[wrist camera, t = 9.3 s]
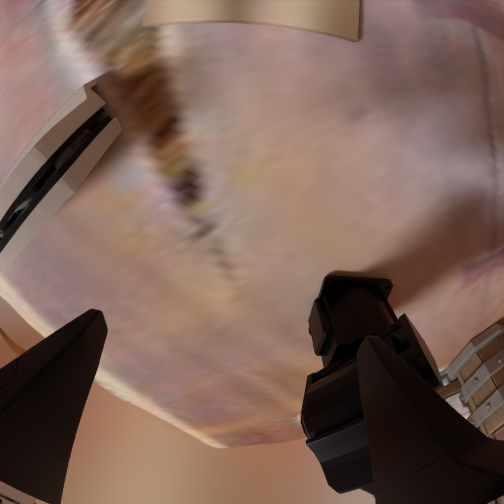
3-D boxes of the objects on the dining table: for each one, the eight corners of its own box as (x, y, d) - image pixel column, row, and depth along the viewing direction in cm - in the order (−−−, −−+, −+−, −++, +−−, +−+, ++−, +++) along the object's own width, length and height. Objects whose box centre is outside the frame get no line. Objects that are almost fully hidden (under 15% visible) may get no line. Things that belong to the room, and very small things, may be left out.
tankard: (510, 309, 25) (558, 379, 12) (498, 353, 30) (530, 413, 17) (404, 376, 30) (435, 469, 16) (408, 407, 35) (429, 478, 22)
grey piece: (97, 76, 14) (19, 125, 7) (130, 120, 17) (81, 196, 10) (-3, 191, 18) (-50, 264, 11) (24, 218, 21) (-14, 295, 14)
